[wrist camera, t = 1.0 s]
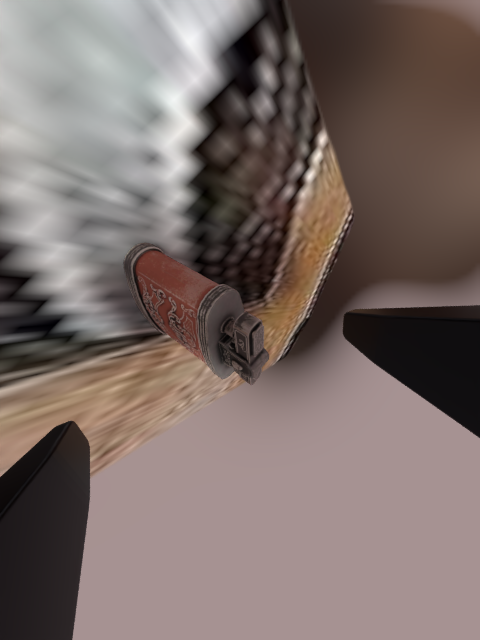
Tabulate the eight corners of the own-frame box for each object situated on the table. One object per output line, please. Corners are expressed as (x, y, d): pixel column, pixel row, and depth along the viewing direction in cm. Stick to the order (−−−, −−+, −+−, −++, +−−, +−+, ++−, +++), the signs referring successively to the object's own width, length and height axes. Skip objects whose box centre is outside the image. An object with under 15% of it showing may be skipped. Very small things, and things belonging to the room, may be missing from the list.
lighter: (183, 312, 23) (275, 374, 19) (153, 336, 22) (246, 410, 17) (156, 233, 17) (282, 297, 13) (112, 259, 16) (239, 342, 11)
